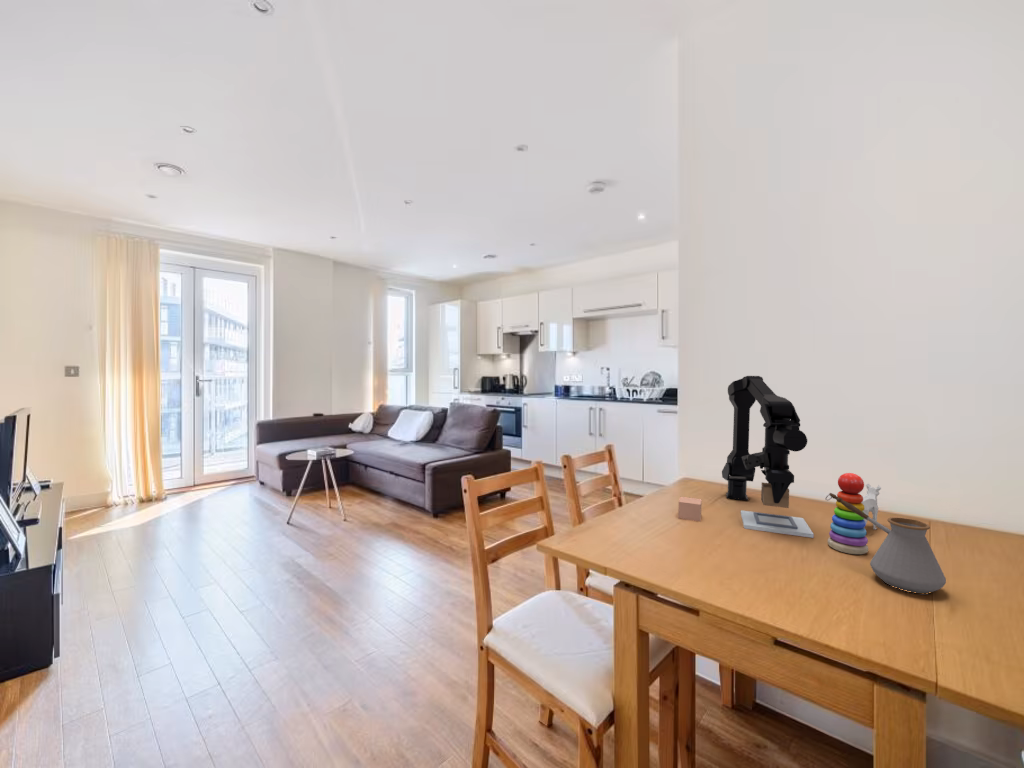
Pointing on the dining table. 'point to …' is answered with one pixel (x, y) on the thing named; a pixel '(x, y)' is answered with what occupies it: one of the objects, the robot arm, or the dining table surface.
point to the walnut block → (768, 497)
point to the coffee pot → (904, 554)
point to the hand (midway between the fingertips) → (774, 500)
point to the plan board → (776, 523)
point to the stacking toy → (849, 518)
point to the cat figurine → (871, 502)
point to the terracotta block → (689, 508)
